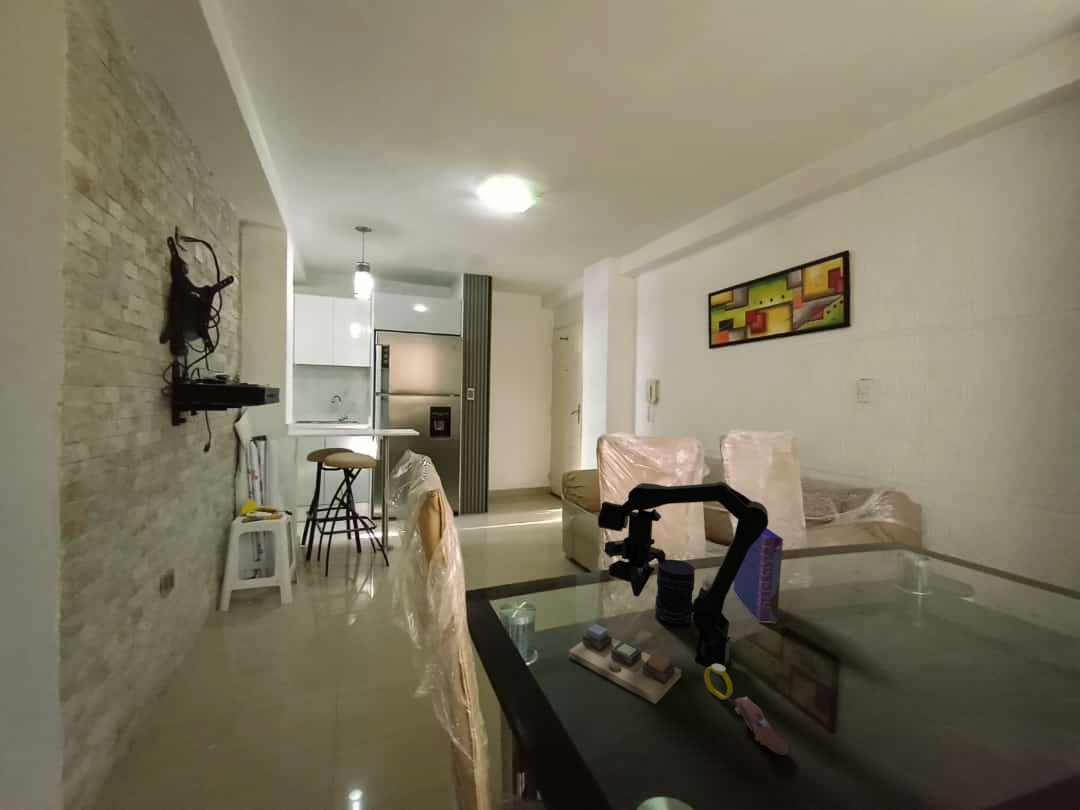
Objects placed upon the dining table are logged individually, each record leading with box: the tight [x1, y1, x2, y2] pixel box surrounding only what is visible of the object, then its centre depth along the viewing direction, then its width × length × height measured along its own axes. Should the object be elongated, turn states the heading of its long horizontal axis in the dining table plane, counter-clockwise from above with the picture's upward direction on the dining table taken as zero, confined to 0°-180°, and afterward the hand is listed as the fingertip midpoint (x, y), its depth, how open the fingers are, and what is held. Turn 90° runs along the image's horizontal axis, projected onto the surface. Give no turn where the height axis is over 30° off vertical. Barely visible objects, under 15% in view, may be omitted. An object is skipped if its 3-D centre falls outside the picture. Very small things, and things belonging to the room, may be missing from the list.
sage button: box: [616, 643, 637, 657], centre depth 103 cm, size 3×3×2 cm
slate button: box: [587, 623, 609, 642], centre depth 109 cm, size 3×3×2 cm
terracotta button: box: [648, 651, 671, 673], centre depth 98 cm, size 3×3×2 cm
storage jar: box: [654, 559, 696, 630], centre depth 124 cm, size 10×10×15 cm
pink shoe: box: [734, 695, 789, 756], centre depth 84 cm, size 10×5×7 cm, turn 5°
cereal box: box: [733, 527, 784, 623], centre depth 133 cm, size 17×5×24 cm, turn 179°
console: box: [568, 631, 682, 705], centre depth 103 cm, size 22×12×4 cm, turn 49°
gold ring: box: [703, 664, 733, 700], centre depth 95 cm, size 6×3×6 cm, turn 32°
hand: (636, 595), depth 114 cm, fingers closed
